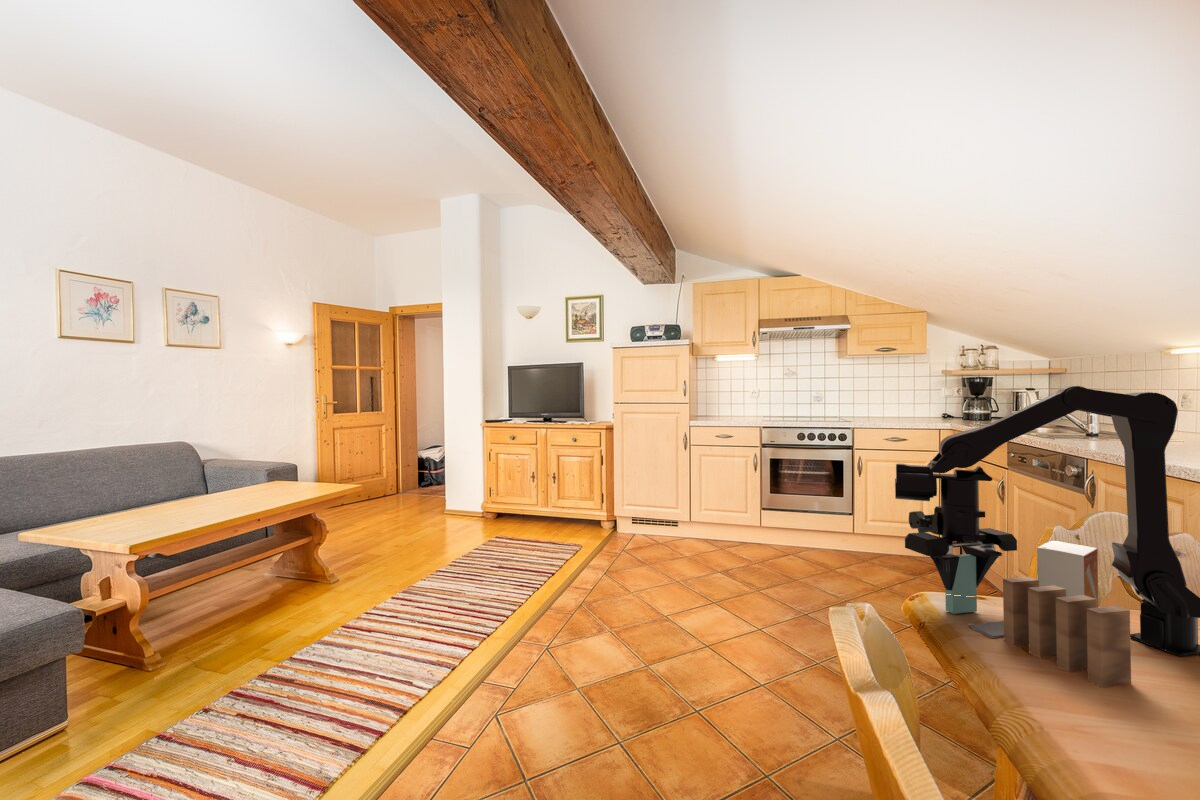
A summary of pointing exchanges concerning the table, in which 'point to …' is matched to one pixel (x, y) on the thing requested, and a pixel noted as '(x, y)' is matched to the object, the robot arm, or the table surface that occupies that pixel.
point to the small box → (1069, 568)
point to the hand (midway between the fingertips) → (961, 588)
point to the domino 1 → (963, 587)
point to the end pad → (990, 628)
